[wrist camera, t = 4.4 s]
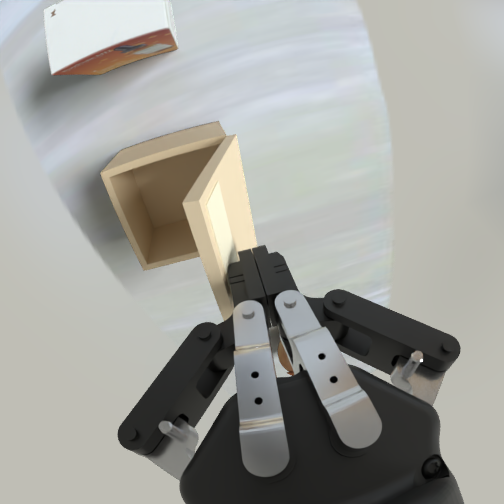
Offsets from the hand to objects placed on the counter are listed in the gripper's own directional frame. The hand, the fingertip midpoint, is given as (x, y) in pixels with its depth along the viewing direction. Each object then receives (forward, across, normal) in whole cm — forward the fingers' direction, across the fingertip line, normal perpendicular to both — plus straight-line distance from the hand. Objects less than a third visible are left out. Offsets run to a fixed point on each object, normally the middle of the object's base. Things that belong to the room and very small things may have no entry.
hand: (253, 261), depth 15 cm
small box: (+16, +6, -16) cm, 23 cm away
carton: (+15, +5, 0) cm, 16 cm away
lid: (+3, +1, 0) cm, 3 cm away
